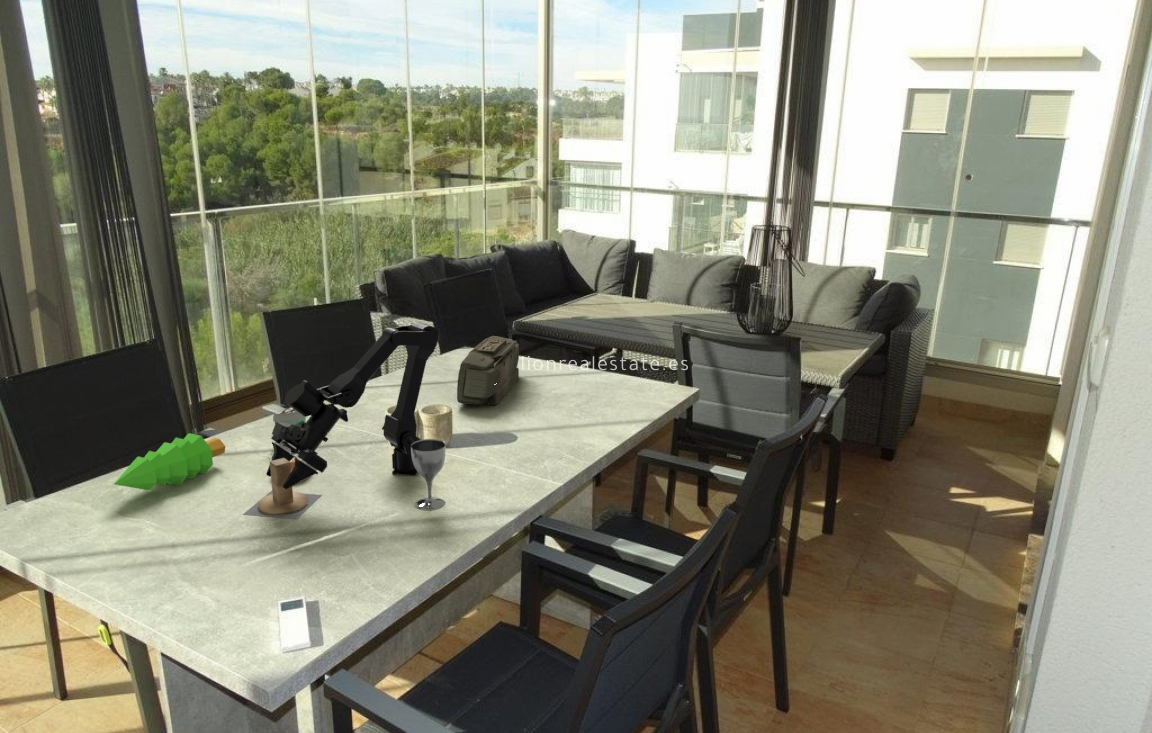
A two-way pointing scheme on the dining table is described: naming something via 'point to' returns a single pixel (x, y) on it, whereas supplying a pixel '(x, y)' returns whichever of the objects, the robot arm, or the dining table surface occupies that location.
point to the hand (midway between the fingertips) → (275, 481)
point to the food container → (289, 417)
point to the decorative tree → (172, 462)
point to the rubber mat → (256, 512)
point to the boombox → (488, 371)
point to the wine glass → (428, 468)
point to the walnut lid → (281, 492)
